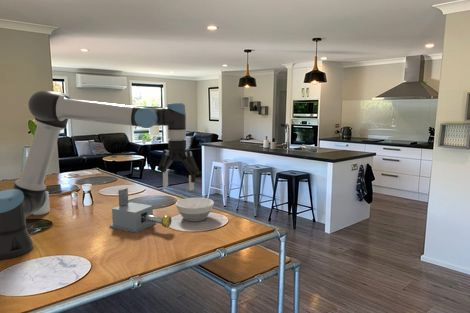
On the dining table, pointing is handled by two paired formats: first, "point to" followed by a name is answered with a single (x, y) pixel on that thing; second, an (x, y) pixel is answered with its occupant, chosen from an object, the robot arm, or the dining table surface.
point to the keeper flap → (123, 197)
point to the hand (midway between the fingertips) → (178, 188)
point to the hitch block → (131, 217)
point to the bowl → (194, 208)
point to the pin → (157, 219)
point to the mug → (44, 207)
